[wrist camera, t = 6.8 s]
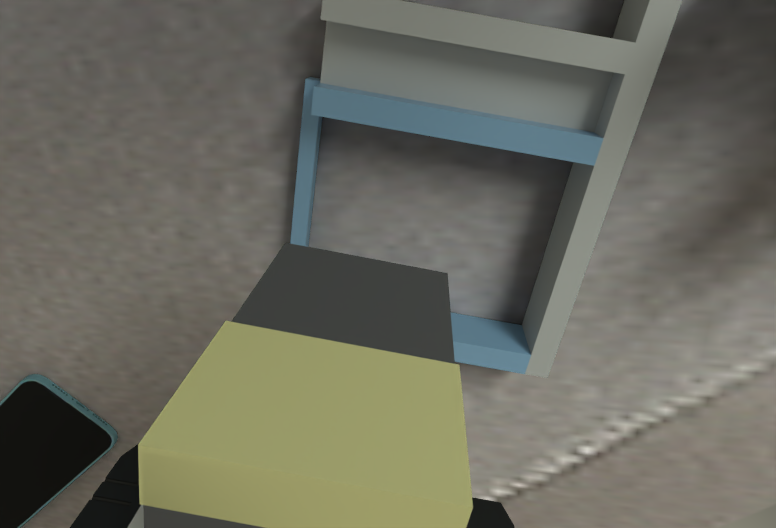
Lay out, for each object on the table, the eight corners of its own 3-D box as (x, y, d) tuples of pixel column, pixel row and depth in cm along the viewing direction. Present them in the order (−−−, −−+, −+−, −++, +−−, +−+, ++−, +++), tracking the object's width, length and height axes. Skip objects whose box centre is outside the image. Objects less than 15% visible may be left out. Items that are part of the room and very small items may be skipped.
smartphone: (121, 440, 35) (5, 540, 40) (129, 429, 36) (15, 528, 41) (28, 372, 33) (-82, 485, 38) (39, 362, 34) (-69, 474, 39)
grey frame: (351, -361, 19) (338, -427, 16) (750, -289, 19) (804, -342, 16) (288, 301, 30) (274, 329, 27) (536, 346, 30) (547, 378, 28)
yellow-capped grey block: (284, 238, 13) (137, 445, 6) (450, 269, 13) (473, 507, 6) (259, 482, 16) (146, 781, 10) (391, 507, 16) (367, 821, 10)
